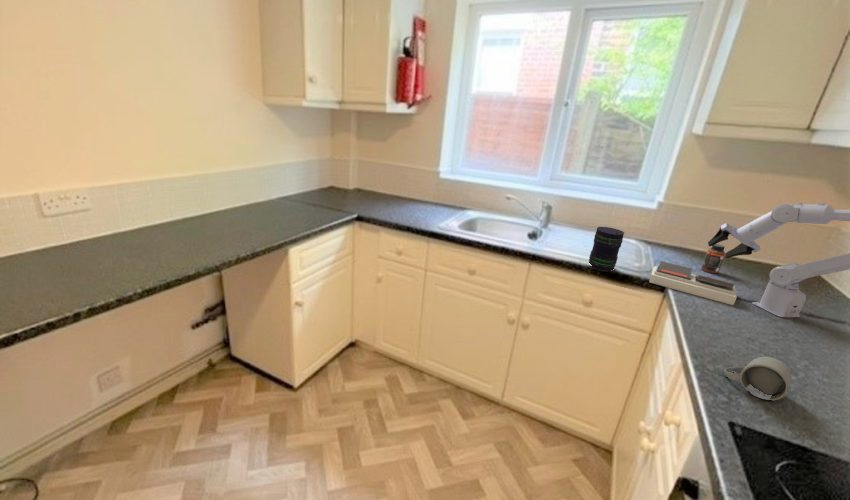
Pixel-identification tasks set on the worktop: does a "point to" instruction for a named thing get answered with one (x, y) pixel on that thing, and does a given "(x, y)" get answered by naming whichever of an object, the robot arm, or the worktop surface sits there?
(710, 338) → the worktop surface
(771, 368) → the ceramic mug
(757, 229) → the robot arm
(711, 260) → the supplement bottle
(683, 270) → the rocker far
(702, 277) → the rocker near
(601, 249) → the storage jar
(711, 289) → the rocker switch panel
